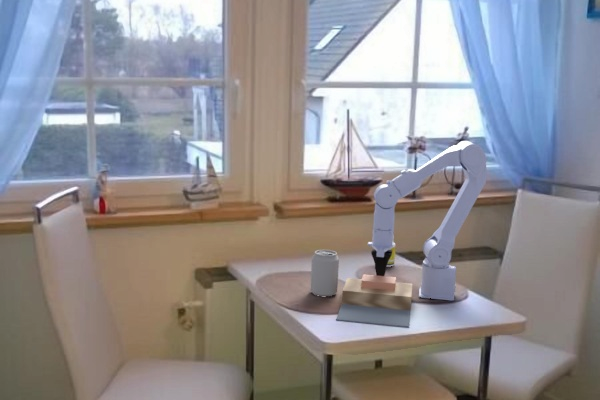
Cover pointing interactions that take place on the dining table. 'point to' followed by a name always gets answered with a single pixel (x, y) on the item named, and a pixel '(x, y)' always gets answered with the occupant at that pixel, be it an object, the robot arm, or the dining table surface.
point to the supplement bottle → (392, 256)
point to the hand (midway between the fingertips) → (380, 275)
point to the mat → (374, 315)
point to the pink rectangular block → (378, 282)
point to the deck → (377, 295)
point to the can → (324, 273)
